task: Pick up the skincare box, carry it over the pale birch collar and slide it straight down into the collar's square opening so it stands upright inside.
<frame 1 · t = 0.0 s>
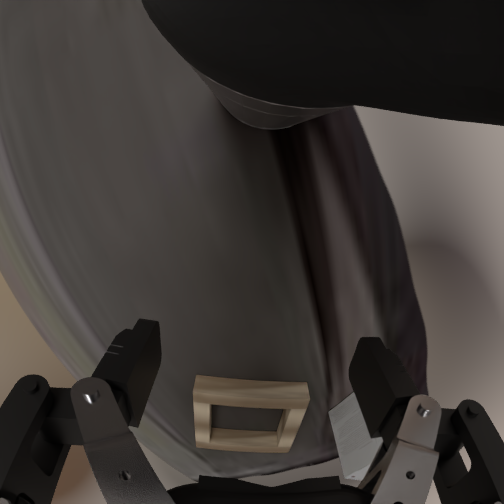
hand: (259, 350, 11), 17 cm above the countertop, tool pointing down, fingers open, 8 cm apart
birch stand: (247, 412, 37), on the countertop
skincare box: (351, 402, 37), on the countertop
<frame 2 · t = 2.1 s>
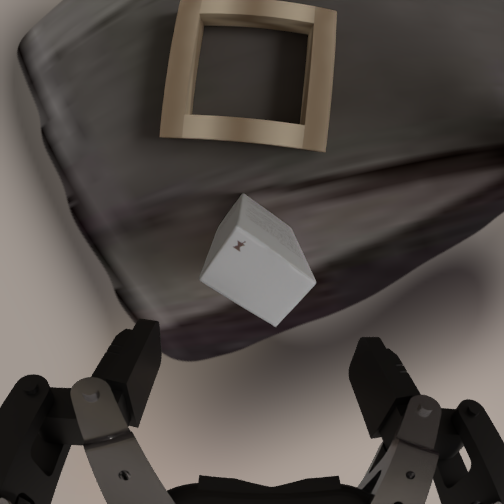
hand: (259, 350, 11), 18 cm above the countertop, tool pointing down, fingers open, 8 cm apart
birch stand: (250, 71, 23), on the countertop
skincare box: (255, 227, 29), on the countertop
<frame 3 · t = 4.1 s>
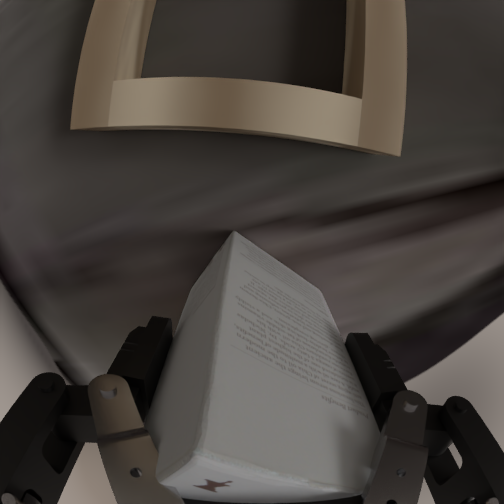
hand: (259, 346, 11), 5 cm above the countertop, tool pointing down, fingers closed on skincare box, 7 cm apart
birch stand: (249, 8, 11), on the countertop
skincare box: (257, 289, 16), on the countertop, touching gripper
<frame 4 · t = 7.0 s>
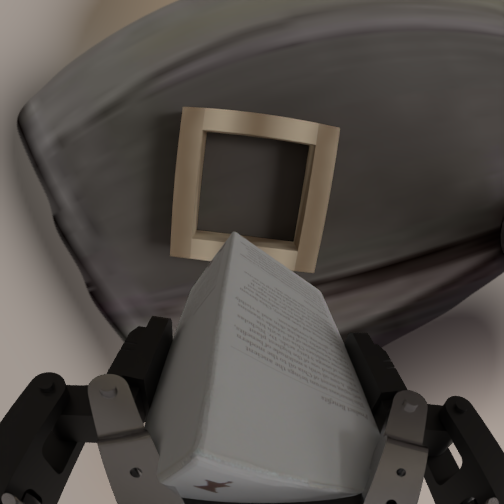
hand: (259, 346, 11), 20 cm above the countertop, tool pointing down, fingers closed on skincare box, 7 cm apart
birch stand: (251, 187, 28), on the countertop
skincare box: (257, 289, 16), point 15 cm above the countertop, touching gripper
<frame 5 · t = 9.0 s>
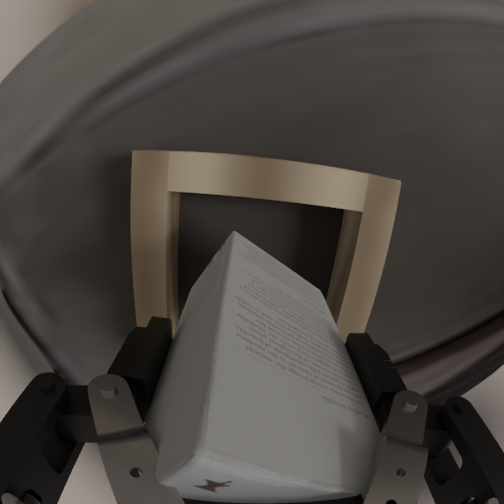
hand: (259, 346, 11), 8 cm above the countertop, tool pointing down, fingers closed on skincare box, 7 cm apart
birch stand: (255, 269, 19), on the countertop
skincare box: (257, 289, 16), point 3 cm above the countertop, touching gripper
when the fingers open (6 cm above the countertop, at t = 10.3 s): skincare box drops 1 cm, resting in birch stand.
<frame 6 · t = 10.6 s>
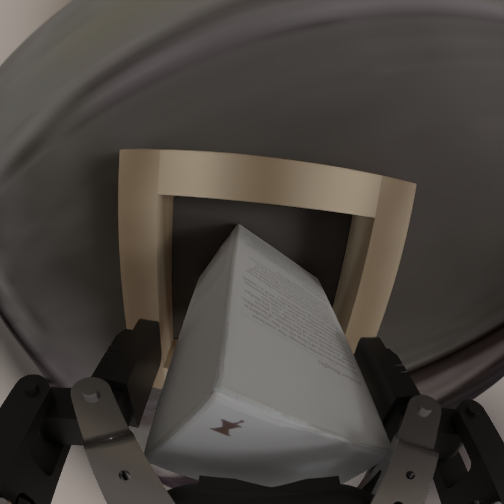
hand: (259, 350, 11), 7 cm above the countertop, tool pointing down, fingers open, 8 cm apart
birch stand: (256, 279, 17), on the countertop
skincare box: (259, 278, 17), resting in birch stand
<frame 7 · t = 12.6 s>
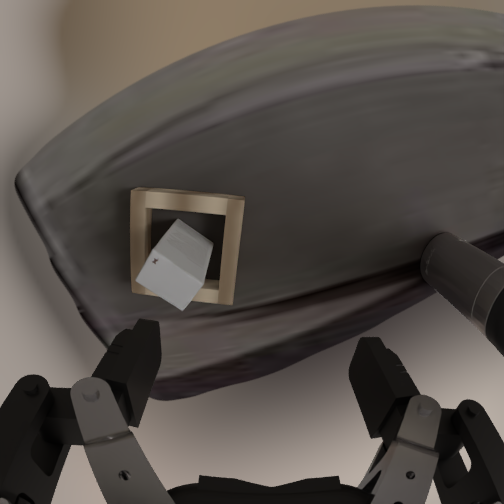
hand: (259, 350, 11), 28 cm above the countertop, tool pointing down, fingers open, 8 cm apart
birch stand: (186, 242, 39), on the countertop
skincare box: (188, 242, 39), resting in birch stand
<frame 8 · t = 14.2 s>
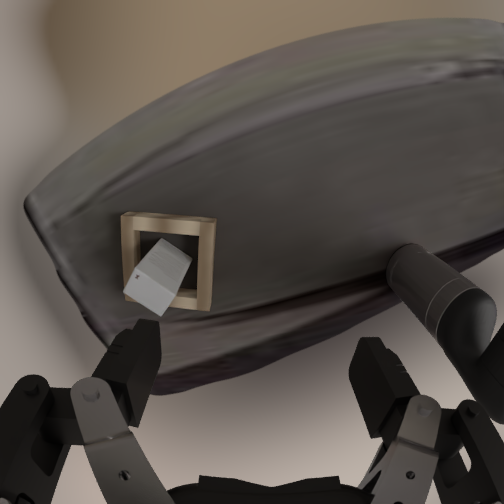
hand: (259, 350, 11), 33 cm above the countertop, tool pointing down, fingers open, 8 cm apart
birch stand: (169, 258, 45), on the countertop
skincare box: (171, 257, 45), resting in birch stand
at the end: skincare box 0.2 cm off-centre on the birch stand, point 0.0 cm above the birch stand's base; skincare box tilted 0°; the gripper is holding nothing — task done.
